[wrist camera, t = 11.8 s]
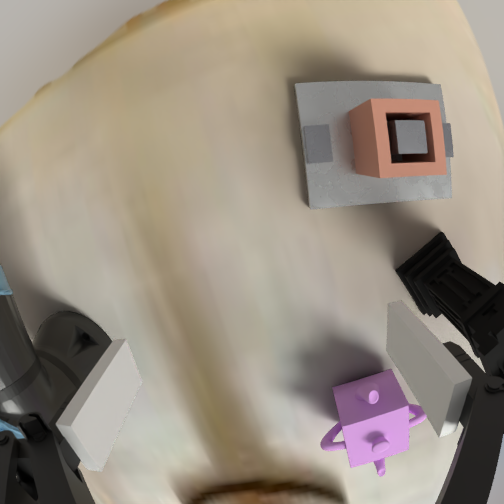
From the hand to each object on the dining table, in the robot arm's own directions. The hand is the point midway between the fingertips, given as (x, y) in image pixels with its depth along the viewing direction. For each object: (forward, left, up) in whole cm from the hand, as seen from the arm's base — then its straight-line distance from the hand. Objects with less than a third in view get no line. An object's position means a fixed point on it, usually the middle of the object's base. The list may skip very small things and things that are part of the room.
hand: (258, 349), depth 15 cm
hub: (+14, +10, -22) cm, 28 cm away
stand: (+14, +10, -23) cm, 29 cm away
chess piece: (+21, -7, -24) cm, 33 cm away
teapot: (+12, -26, -24) cm, 37 cm away
